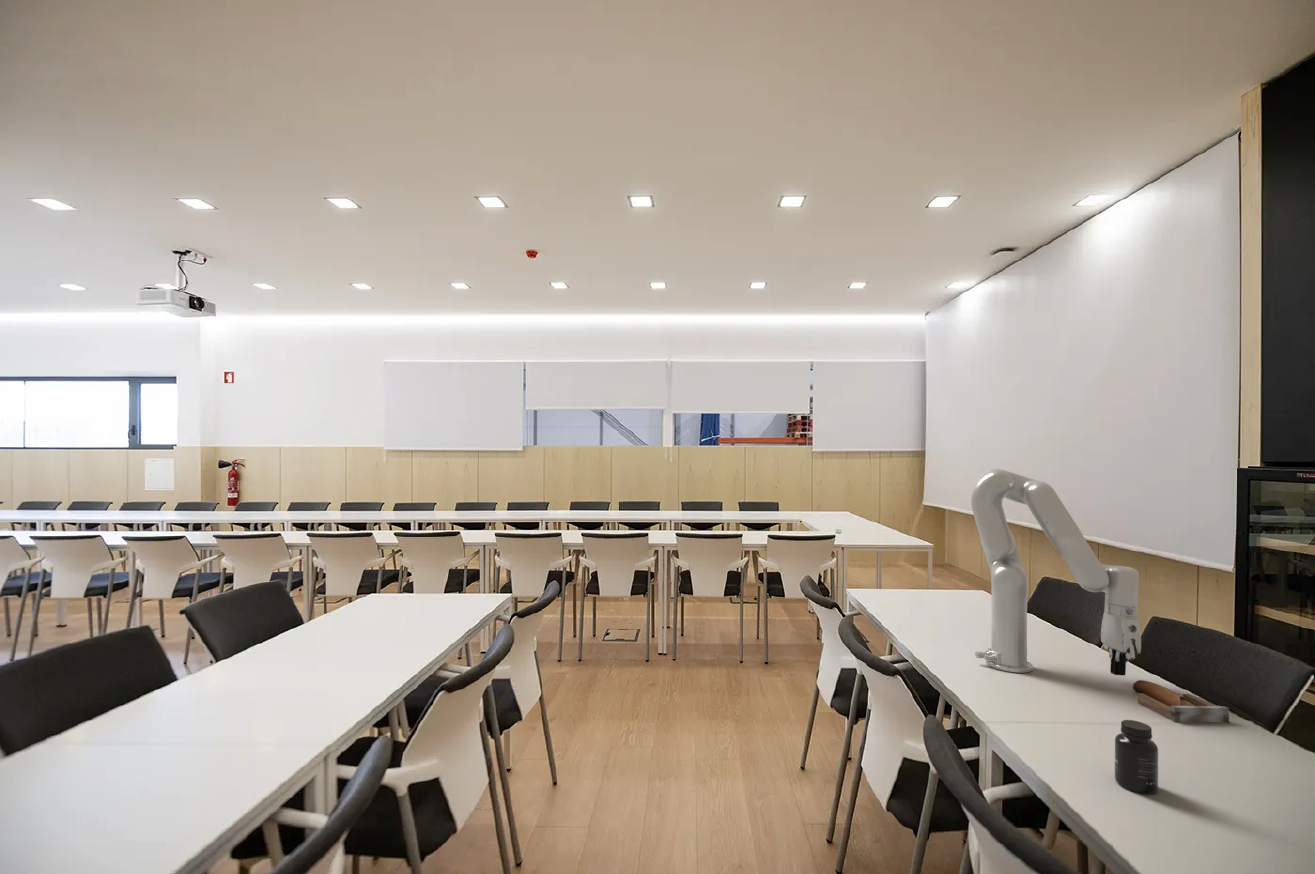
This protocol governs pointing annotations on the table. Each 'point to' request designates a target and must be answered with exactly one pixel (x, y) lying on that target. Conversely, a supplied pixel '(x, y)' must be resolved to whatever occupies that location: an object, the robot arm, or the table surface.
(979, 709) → the table surface
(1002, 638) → the robot arm
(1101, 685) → the table surface
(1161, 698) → the sunglasses case
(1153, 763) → the supplement bottle
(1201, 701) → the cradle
